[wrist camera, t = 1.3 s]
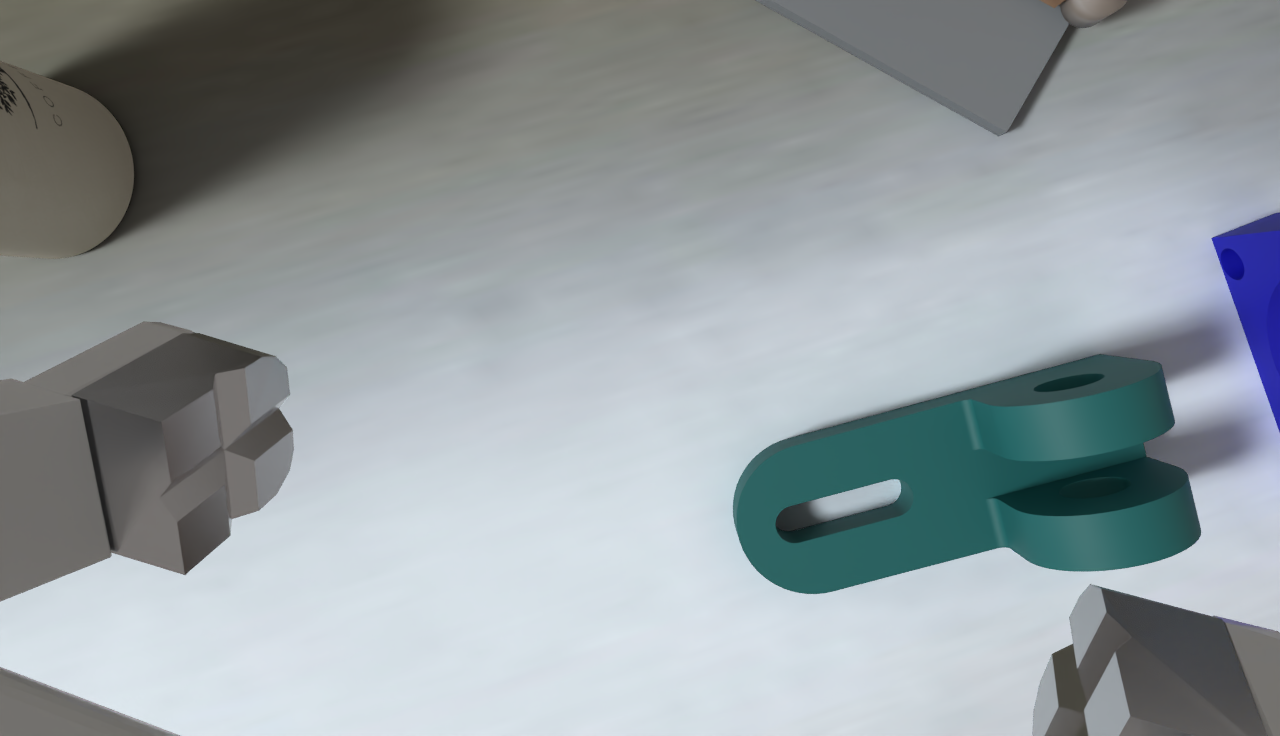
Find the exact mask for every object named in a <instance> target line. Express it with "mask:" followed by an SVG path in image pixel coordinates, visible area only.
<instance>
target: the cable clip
mask: <svg viewBox="0 0 1280 736" xmlns="http://www.w3.org/2000/svg"><path fill="white" fill-rule="evenodd" d="M1212 241H1213V244H1214V247H1215V249H1216V252H1217V255H1218V258H1219V261H1220V264H1221V267H1222V269H1223V272H1224V275H1225V278H1226V281H1227V284H1228V286H1229V289H1230V292H1231V295H1232V298H1233V301H1234V303H1235V306H1236V309H1237V312H1238V315H1239V318H1240V321H1241V323H1242V326H1243V329H1244V332H1245V335H1246V338H1247V340H1248V343H1249V346H1250V349H1251V352H1252V355H1253V358H1254V360H1255V363H1256V366H1257V369H1258V372H1259V375H1260V377H1261V380H1262V383H1263V386H1264V389H1265V392H1266V395H1267V397H1268V400H1269V403H1270V406H1271V409H1272V412H1273V414H1274V417H1275V420H1276V423H1277V426H1278V429H1279V431H1280V213H1275V214H1272V215H1270V216H1267V217H1265V218H1262V219H1260V220H1257V221H1254V222H1252V223H1249V224H1247V225H1244V226H1241V227H1239V228H1236V229H1234V230H1231V231H1229V232H1226V233H1223V234H1221V235H1218V236H1216V237H1213V238H1212Z"/></svg>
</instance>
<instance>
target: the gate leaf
mask: <svg viewBox="0 0 1280 736" xmlns="http://www.w3.org/2000/svg"><path fill="white" fill-rule="evenodd" d="M1040 1H1042V2H1044V3H1046V4H1047V5H1049V6H1051V7H1053V8H1055V7H1057V6H1058V5H1059V4H1060V9H1061V13H1062V15H1063V17H1064V19H1065V20H1066V21H1067V22H1068V23H1069V24H1071V25H1072V26H1075V27H1078V28H1087V27H1091V26H1093V25H1095V24H1097V23H1098V22H1100V21H1102V20H1103V19H1105V18H1106V17H1108V16H1109V15H1111V14H1113V13H1114V12H1116V11H1117V10H1119V9H1120V8H1122V7H1123V6H1124V5H1125V4H1126V2H1127V1H1128V0H1040Z"/></svg>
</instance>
